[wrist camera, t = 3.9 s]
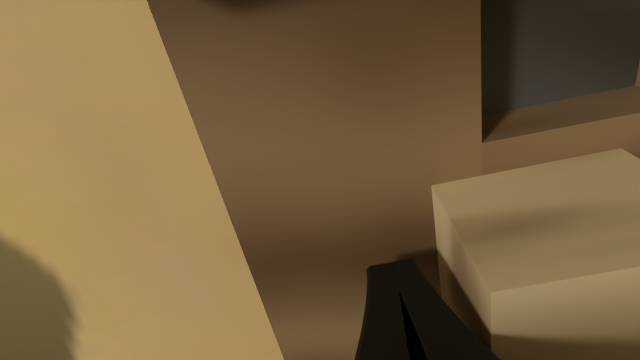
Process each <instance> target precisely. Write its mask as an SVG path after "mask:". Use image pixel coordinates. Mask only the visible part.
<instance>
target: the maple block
mask: <svg viewBox="0 0 640 360" xmlns="http://www.w3.org/2000/svg"><path fill="white" fill-rule="evenodd" d="M431 188H432V199H433V210H434V221H435V232H436V242H437V253H438V264H439V275H440V286H441V297H442V299H443V300H444V302H445V303H446V304H447V305H448V306H449V307H450V308H451V310H452V311H453V312H454V313H455V314H456V315H457V316H458V318H459V319H460V320H461V321H462V322H463V323H464V324H465V325H466V326H467V327H468V328H469V329H470V330H471V331H472V332H473V333H474V334H475V335H476V336H477V337H478V339H479V340H480V341H481V342H482V343H483V344H485V345H486V346H487V347H488V348H489V349H490V350H491V351H492V352H493V353H494V354H495V355H496V356H497V357H498V358H499V359H500V360H640V159H639V158H638V157H636V156H634V155H633V154H631V153H629V152H628V151H626V150H624V149H622V148H619V149H614V150H609V151H604V152H599V153H594V154H589V155H584V156H578V157H573V158H568V159H563V160H558V161H553V162H548V163H543V164H538V165H533V166H528V167H523V168H517V169H512V170H507V171H502V172H497V173H492V174H487V175H482V176H477V177H472V178H467V179H462V180H457V181H451V182H446V183H441V184H436V185H431Z"/></svg>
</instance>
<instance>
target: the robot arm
mask: <svg viewBox="0 0 640 360" xmlns="http://www.w3.org/2000/svg"><path fill="white" fill-rule="evenodd" d="M366 272H367V294H366V304H365V311H364V317H363V323H362V329H361V334H360V338H359V342H358V347H357V351H356V355H355V359H354V360H500V359H499V358H498V357H497V356H496V355H495V354H494V353H493V352H492V351H491V350H490V349H489V348H488V347H487V346H486V345H485V344H483V343H482V342H481V341H480V340H479V339H478V337H477V336H476V335H475V334H474V333H473V332H472V331H471V330H470V329H469V328H468V327H467V326H466V325H465V324H464V323H463V322H462V321H461V320H460V319H459V318H458V316H457V315H456V314H455V313H454V312H453V311H452V310H451V308H450V307H449V306H448V305H447V304H446V303H445V302H444V300H443V299H442V298H441V297H440V296H439V294H438V293H437V292H436V291H435V289H434V288H433V287H432V285H431V284H430V283H429V281H428V280H427V279H426V277H425V276H424V274H423V273H422V272H421V270H420V268H419V267H418V265H417V264H416V262H415V261H414V260H412V259H405V260H400V261H394V262H389V263H383V264H377V265H372V266H369V267H368V268H367V269H366Z"/></svg>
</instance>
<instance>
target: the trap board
mask: <svg viewBox="0 0 640 360" xmlns="http://www.w3.org/2000/svg"><path fill="white" fill-rule="evenodd" d="M147 2H148V4H149V7H150V9H151V12H152V15H153V17H154V20H155V22H156V25H157V28H158V30H159V33H160V36H161V38H162V41H163V43H164V46H165V49H166V51H167V54H168V56H169V59H170V62H171V64H172V67H173V70H174V72H175V75H176V77H177V80H178V83H179V85H180V88H181V90H182V93H183V96H184V98H185V101H186V104H187V106H188V109H189V111H190V114H191V117H192V119H193V122H194V125H195V127H196V130H197V132H198V135H199V138H200V140H201V143H202V145H203V148H204V151H205V153H206V156H207V159H208V161H209V164H210V166H211V169H212V172H213V174H214V177H215V179H216V182H217V185H218V187H219V190H220V193H221V195H222V198H223V200H224V203H225V206H226V208H227V211H228V213H229V216H230V219H231V221H232V224H233V227H234V229H235V232H236V234H237V237H238V240H239V242H240V245H241V247H242V250H243V253H244V255H245V258H246V261H247V263H248V266H249V268H250V271H251V274H252V276H253V279H254V282H255V284H256V287H257V289H258V292H259V295H260V297H261V300H262V302H263V305H264V308H265V310H266V313H267V316H268V318H269V321H270V323H271V326H272V329H273V331H274V334H275V336H276V339H277V342H278V344H279V347H280V350H281V352H282V355H283V357H284V360H354V359H355V355H356V351H357V347H358V342H359V338H360V334H361V329H362V323H363V317H364V311H365V304H366V294H367V272H366V269H367V268H368V267H369V266H372V265H377V264H383V263H389V262H394V261H400V260H405V259H412V260H414V261H415V262H416V264H417V265H418V267H419V268H420V270H421V272H422V273H423V274H424V276H425V277H426V279H427V280H428V281H429V283H430V284H431V285H432V287H433V288H434V289H435V291H436V292H437V293H438V294H439V296H440V297H441V286H440V275H439V264H438V253H437V242H436V232H435V221H434V210H433V199H432V188H431V185H436V184H441V183H446V182H451V181H457V180H462V179H467V178H472V177H477V176H482V175H487V174H492V173H497V172H502V171H507V170H512V169H517V168H523V167H528V166H533V165H538V164H543V163H548V162H553V161H558V160H563V159H568V158H573V157H578V156H584V155H589V154H594V153H599V152H604V151H609V150H614V149H619V148H622V149H624V150H626V151H628V152H629V153H631V154H633V155H634V156H636V157H638V158H639V159H640V0H147ZM441 298H442V297H441Z"/></svg>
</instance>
